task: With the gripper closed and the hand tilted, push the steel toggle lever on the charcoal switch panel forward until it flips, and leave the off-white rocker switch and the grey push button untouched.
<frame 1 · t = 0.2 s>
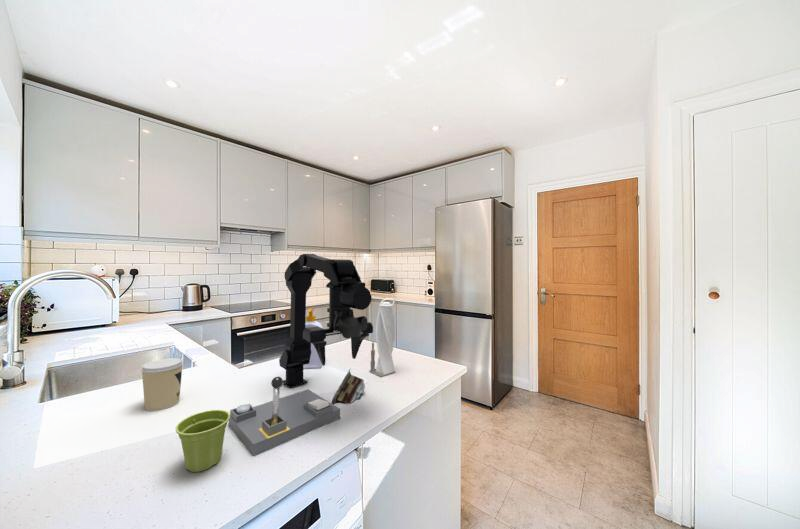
hand: (339, 361, 82), 14 cm above the countertop, tool pointing down, fingers open, 9 cm apart
plant pot: (203, 463, 61), on the countertop
skyscraper: (384, 372, 113), on the countertop
push button: (243, 409, 75), point 4 cm above the countertop, slide at 0.0 cm
soap bottle: (310, 366, 118), on the countertop
coffee cup: (162, 405, 86), on the countertop
rocker switch: (318, 404, 79), point 4 cm above the countertop, hinge at -10.0°
switch panel: (285, 421, 77), on the countertop
toggle lever: (275, 400, 71), point 9 cm above the countertop, hinge at -18.0°
chocolate cake: (350, 398, 92), on the countertop
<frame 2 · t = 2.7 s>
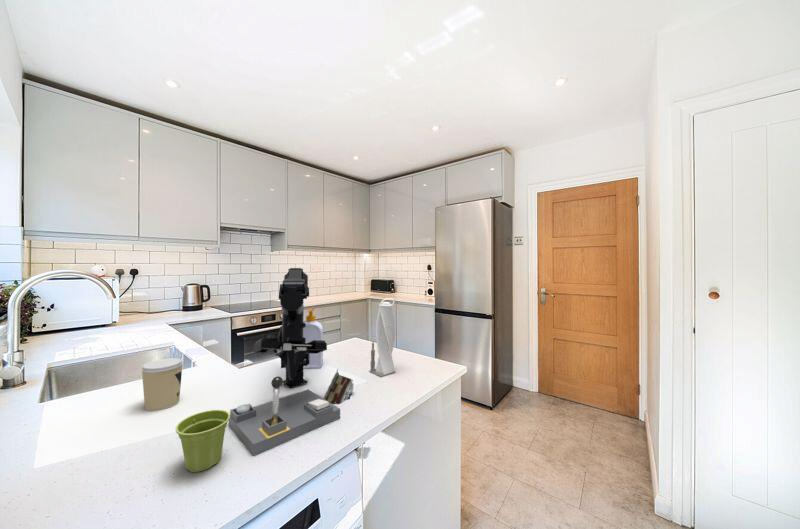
hand: (291, 379, 79), 10 cm above the countertop, tool tilted 25°, fingers closed
chocolate cake: (339, 398, 92), on the countertop
everything else where it was.
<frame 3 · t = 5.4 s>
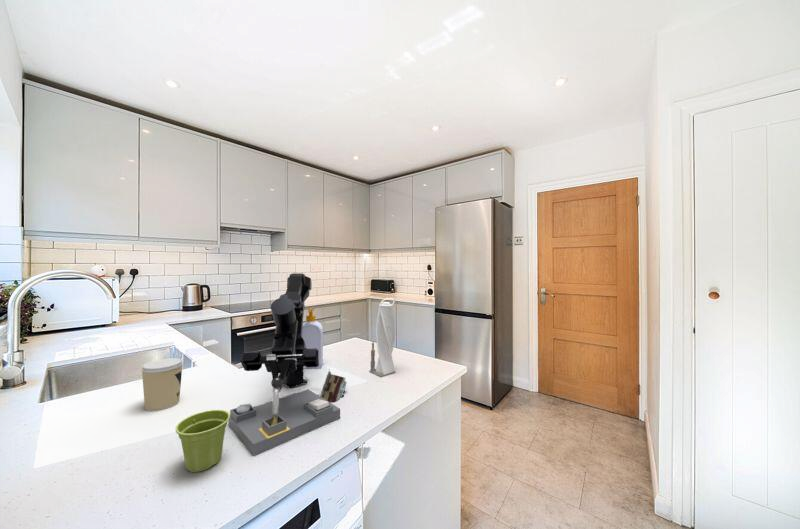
hand: (277, 392, 73), 10 cm above the countertop, tool tilted 45°, fingers closed, pressing on toggle lever
toggle lever: (275, 400, 71), point 9 cm above the countertop, hinge at -17.0°, touching gripper
chocolate cake: (333, 397, 93), on the countertop
everything else where it was.
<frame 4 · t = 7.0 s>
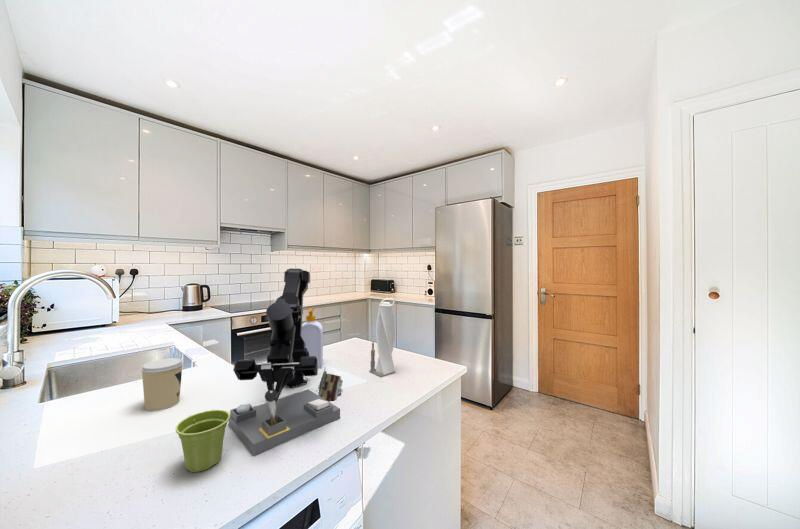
hand: (272, 403, 68), 9 cm above the countertop, tool tilted 45°, fingers closed, pressing on toggle lever
toggle lever: (272, 408, 67), point 8 cm above the countertop, hinge at 23.1°, touching gripper
chocolate cake: (330, 396, 93), on the countertop
everything else where it was.
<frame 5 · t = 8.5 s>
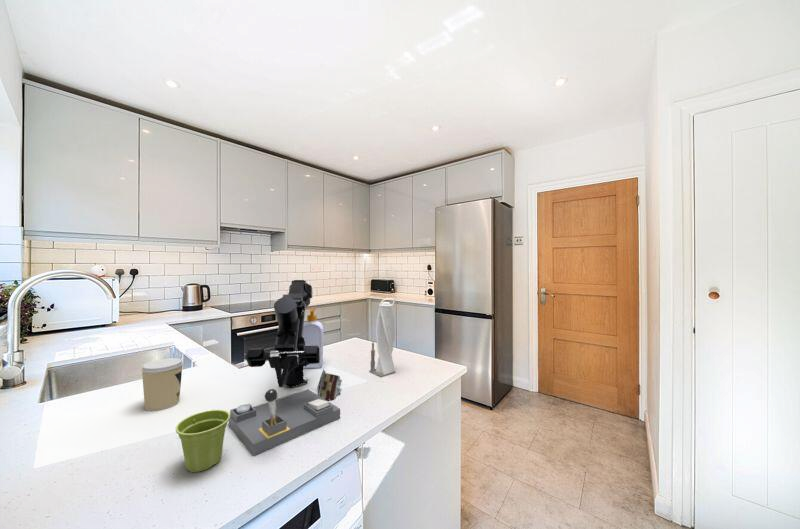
hand: (280, 386, 76), 9 cm above the countertop, tool tilted 45°, fingers closed
toggle lever: (272, 408, 67), point 8 cm above the countertop, hinge at 23.0°
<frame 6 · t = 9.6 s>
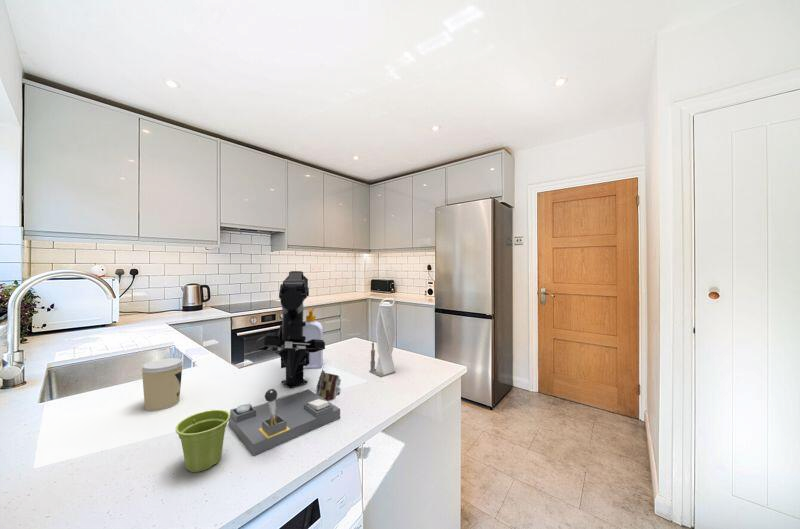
hand: (291, 376, 81), 10 cm above the countertop, tool tilted 25°, fingers closed
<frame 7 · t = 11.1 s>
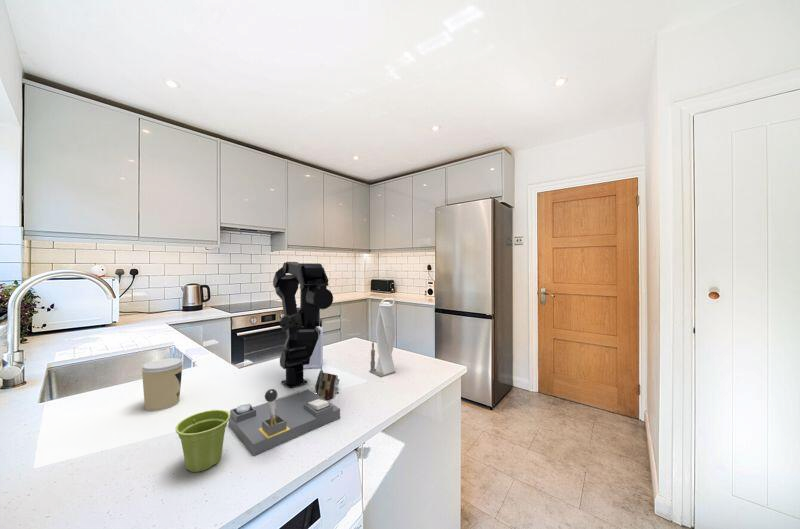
hand: (309, 356, 90), 13 cm above the countertop, tool pointing down, fingers closed
chocolate cake: (327, 394, 94), on the countertop, touching switch panel
everything else where it was.
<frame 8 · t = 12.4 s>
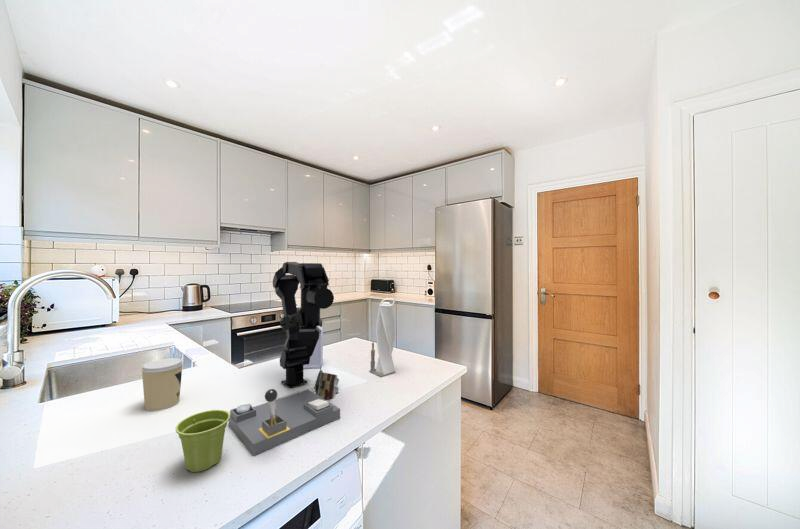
hand: (310, 355, 90), 13 cm above the countertop, tool pointing down, fingers closed
chocolate cake: (327, 394, 94), on the countertop
everything else where it was.
at the end: toggle lever at +23° (first picture: -18°); rocker switch at -10° (first picture: -10°); push button slide at 0.0 cm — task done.
